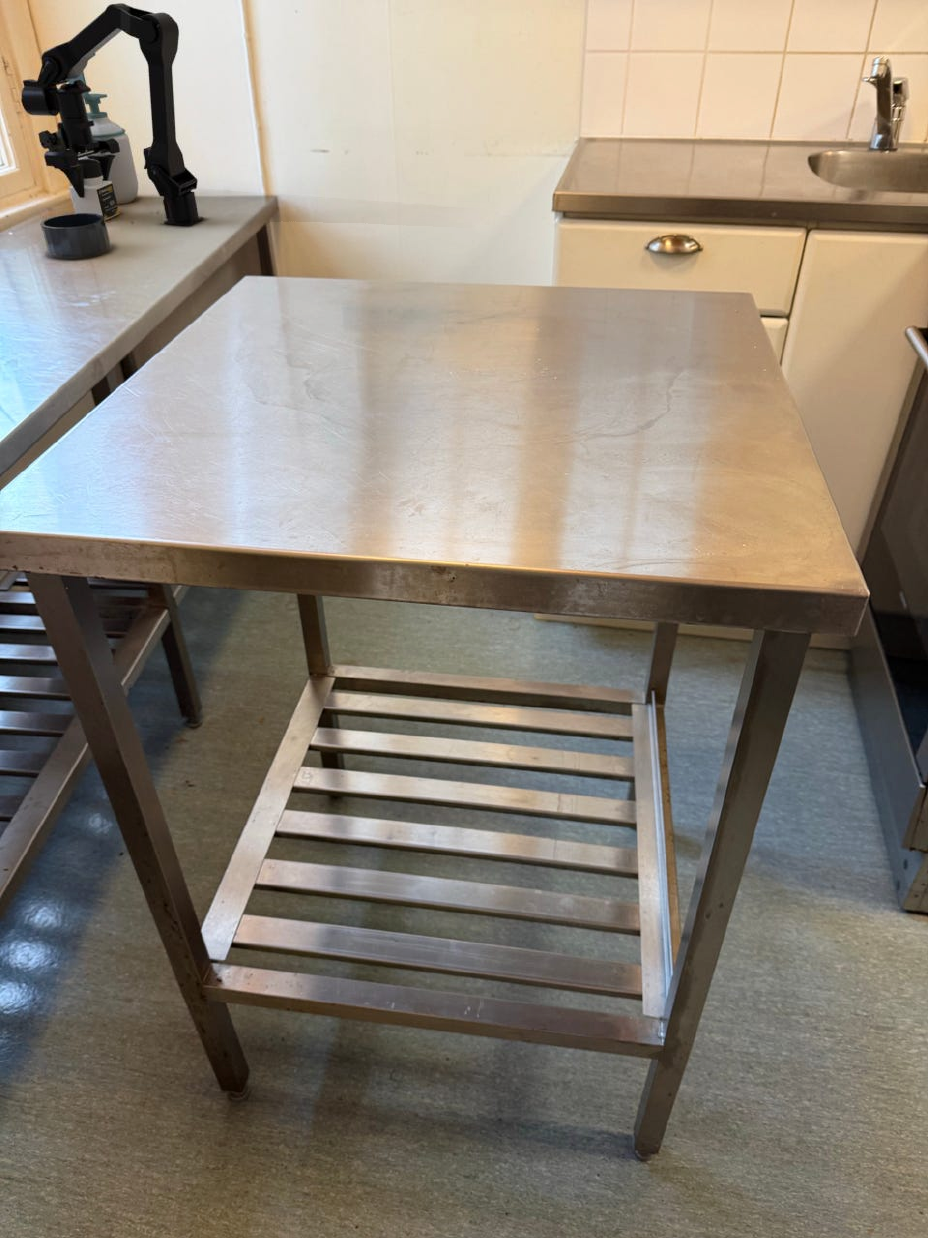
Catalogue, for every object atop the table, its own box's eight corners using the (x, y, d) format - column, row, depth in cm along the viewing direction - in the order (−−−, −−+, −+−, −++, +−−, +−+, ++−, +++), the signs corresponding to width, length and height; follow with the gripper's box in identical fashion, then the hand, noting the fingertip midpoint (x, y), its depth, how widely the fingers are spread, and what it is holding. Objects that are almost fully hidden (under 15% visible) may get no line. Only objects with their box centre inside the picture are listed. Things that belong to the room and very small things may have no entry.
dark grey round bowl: (123, 245, 188) (116, 215, 184) (85, 261, 179) (77, 230, 175) (76, 241, 191) (68, 211, 188) (36, 256, 182) (27, 225, 179)
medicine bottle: (104, 221, 205) (90, 163, 197) (76, 220, 206) (61, 162, 198) (120, 213, 210) (107, 157, 203) (92, 212, 211) (78, 156, 204)
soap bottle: (152, 197, 223) (121, 50, 204) (116, 208, 214) (80, 55, 195) (115, 193, 227) (81, 48, 208) (78, 203, 219) (40, 53, 200)
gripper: (72, 108, 205) (90, 182, 214) (14, 121, 191) (36, 200, 200) (112, 110, 201) (129, 185, 211) (56, 123, 188) (77, 203, 197)
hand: (93, 193), depth 205 cm, fingers closed on medicine bottle, 7 cm apart
